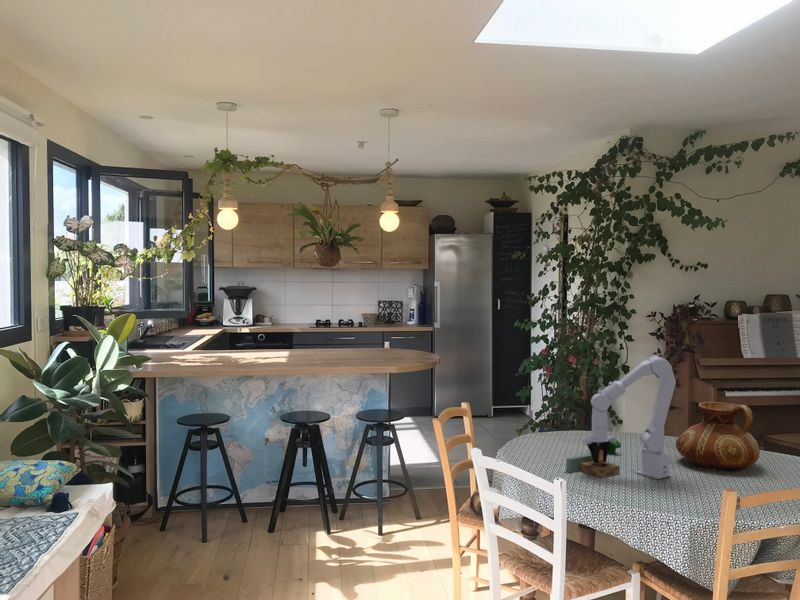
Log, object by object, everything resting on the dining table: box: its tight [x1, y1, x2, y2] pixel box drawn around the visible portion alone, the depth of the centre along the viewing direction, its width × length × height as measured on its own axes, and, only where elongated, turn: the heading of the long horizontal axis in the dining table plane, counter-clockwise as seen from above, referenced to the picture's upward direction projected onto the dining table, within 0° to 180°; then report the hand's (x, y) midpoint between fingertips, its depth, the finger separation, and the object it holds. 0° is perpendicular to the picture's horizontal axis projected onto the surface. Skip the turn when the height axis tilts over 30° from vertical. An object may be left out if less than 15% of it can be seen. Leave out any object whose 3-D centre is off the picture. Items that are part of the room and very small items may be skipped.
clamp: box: [597, 439, 622, 455], centre depth 274 cm, size 12×6×9 cm, turn 99°
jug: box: [675, 401, 761, 472], centre depth 259 cm, size 30×30×25 cm
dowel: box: [595, 449, 603, 467], centre depth 248 cm, size 3×3×7 cm
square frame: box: [579, 461, 620, 479], centre depth 247 cm, size 10×10×3 cm
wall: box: [565, 453, 608, 474], centre depth 253 cm, size 2×20×5 cm, turn 122°
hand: (599, 461), depth 247 cm, fingers closed on dowel, 3 cm apart
